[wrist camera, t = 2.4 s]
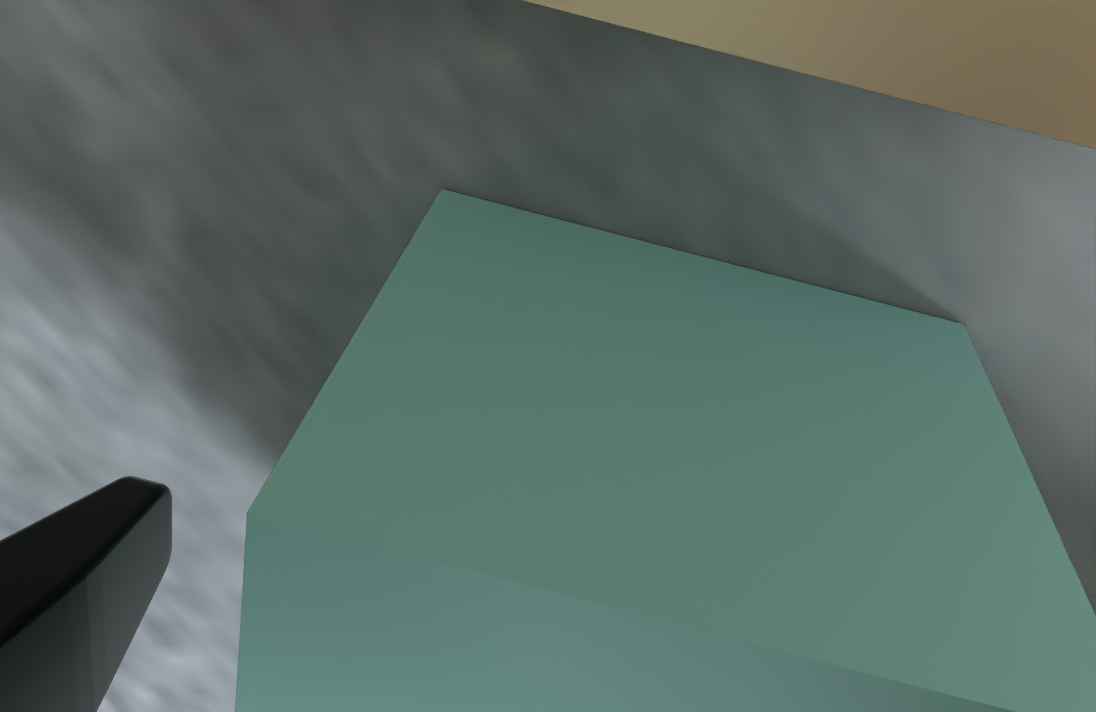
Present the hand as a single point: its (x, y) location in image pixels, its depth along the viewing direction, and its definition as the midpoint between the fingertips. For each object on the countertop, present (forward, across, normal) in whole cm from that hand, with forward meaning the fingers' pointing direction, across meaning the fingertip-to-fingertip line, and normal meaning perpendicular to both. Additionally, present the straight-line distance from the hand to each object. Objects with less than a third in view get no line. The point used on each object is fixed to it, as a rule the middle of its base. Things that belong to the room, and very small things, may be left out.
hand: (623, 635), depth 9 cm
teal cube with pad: (+3, 0, 0) cm, 3 cm away
